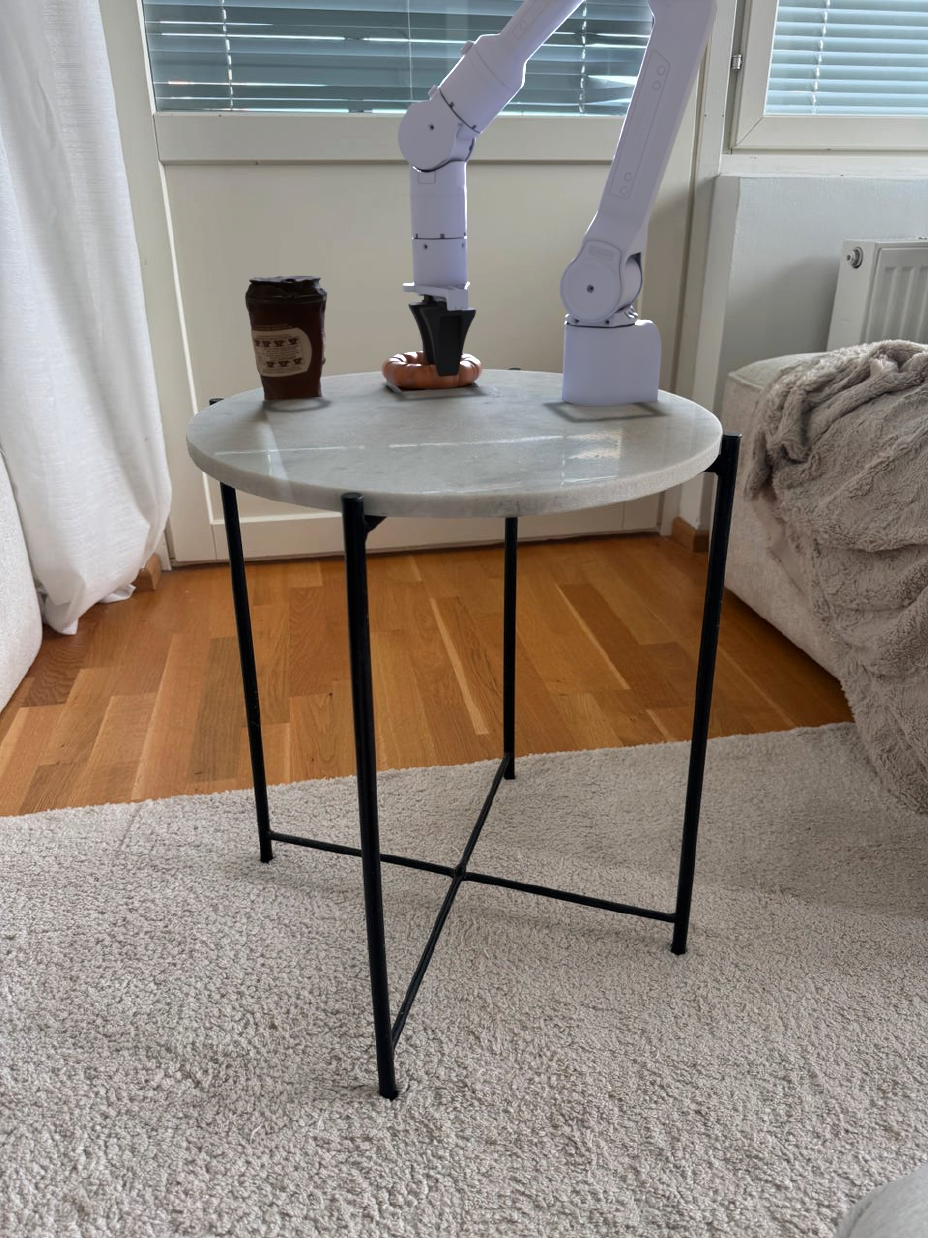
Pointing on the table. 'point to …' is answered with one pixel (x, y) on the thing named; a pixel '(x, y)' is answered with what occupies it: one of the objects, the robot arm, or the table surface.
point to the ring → (428, 372)
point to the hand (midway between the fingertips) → (443, 371)
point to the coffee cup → (288, 334)
